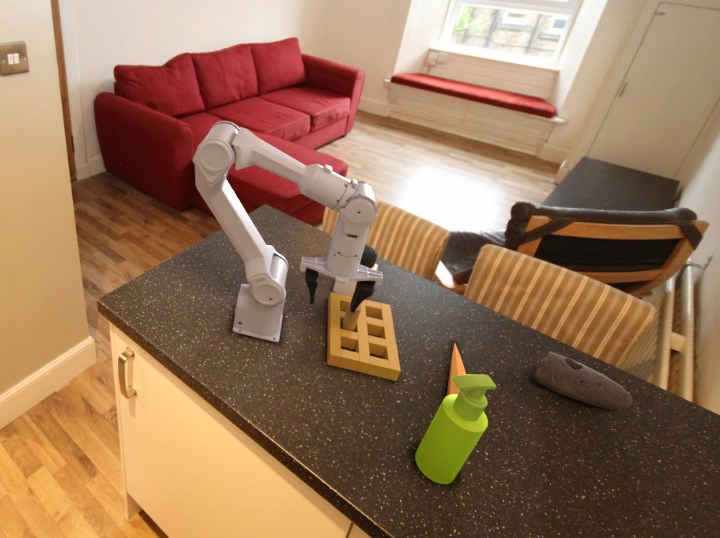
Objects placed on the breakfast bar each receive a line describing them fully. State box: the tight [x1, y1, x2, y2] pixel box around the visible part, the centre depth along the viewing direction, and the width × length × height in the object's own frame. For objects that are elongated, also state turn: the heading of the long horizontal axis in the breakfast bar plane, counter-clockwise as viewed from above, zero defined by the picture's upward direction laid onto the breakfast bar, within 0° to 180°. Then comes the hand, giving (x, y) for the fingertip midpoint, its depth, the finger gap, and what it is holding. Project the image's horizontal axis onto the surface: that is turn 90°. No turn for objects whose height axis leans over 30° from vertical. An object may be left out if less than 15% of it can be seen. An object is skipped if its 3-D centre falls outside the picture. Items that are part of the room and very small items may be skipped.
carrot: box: [446, 342, 467, 396], centre depth 84 cm, size 20×4×4 cm, turn 155°
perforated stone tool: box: [534, 351, 634, 411], centre depth 82 cm, size 15×5×7 cm, turn 59°
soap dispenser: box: [414, 373, 498, 485], centre depth 65 cm, size 6×7×20 cm
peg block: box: [326, 291, 401, 382], centre depth 91 cm, size 13×18×3 cm
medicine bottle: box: [332, 243, 379, 297], centre depth 102 cm, size 7×7×12 cm
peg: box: [340, 302, 362, 332], centre depth 91 cm, size 3×3×8 cm
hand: (331, 304), depth 86 cm, fingers open, 7 cm apart
